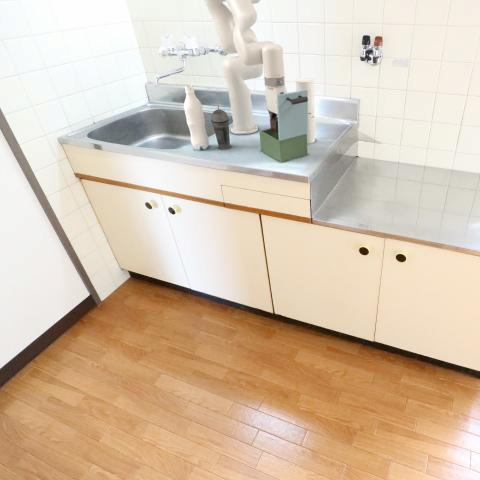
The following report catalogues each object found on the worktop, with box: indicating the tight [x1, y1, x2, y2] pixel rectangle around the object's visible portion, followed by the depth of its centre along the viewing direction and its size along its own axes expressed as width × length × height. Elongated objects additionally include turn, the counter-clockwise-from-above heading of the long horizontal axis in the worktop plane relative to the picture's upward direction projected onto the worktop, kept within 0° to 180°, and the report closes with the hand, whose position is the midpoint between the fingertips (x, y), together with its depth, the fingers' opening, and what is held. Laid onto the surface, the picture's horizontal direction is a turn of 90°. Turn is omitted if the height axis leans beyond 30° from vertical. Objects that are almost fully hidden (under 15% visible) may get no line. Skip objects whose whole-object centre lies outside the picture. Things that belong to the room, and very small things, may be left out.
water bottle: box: [183, 84, 210, 151], centre depth 151 cm, size 7×7×25 cm
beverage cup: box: [210, 98, 231, 150], centre depth 153 cm, size 7×7×20 cm
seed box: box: [258, 127, 309, 163], centre depth 150 cm, size 16×13×8 cm
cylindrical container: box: [295, 77, 316, 145], centre depth 156 cm, size 7×7×25 cm
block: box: [269, 117, 278, 133], centre depth 149 cm, size 4×4×4 cm
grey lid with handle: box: [277, 90, 308, 141], centre depth 136 cm, size 16×13×6 cm
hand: (278, 129), depth 150 cm, fingers closed on block, 4 cm apart
